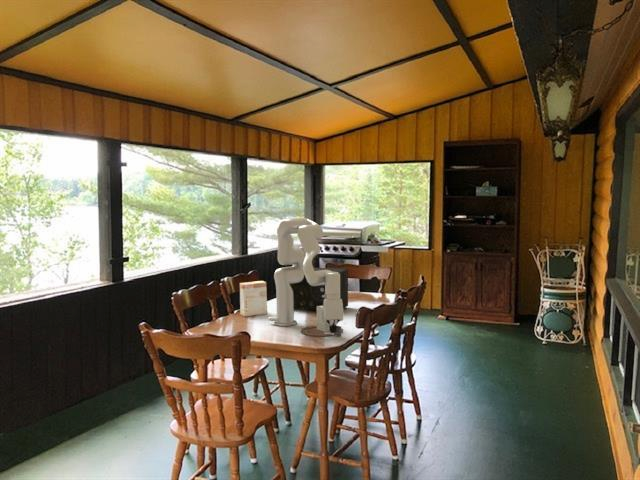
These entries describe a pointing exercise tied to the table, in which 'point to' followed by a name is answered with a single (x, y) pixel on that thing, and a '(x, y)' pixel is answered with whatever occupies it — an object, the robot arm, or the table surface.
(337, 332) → the collar
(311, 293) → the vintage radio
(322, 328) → the supplement box
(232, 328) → the table surface
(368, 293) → the table surface
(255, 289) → the coffeecake box
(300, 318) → the table surface
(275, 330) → the table surface
